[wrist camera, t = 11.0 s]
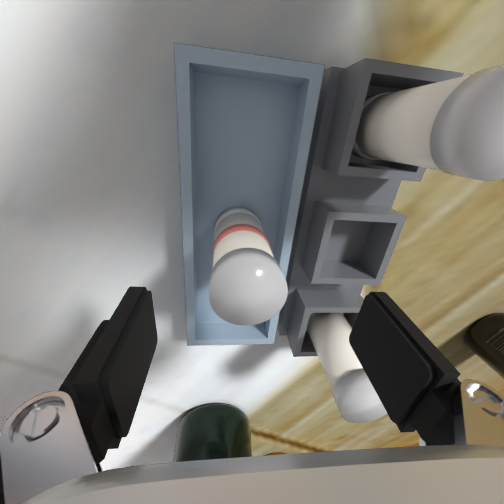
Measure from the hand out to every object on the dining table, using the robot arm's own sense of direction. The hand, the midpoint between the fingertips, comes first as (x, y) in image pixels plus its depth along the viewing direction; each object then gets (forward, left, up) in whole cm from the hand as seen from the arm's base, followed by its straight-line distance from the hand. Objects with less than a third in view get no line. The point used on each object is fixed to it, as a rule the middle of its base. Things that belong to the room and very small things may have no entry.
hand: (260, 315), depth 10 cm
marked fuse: (+1, 0, -12) cm, 12 cm away
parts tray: (+1, 0, -13) cm, 13 cm away
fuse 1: (+10, +9, -11) cm, 17 cm away
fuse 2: (-8, +9, -11) cm, 17 cm away
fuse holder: (+1, +9, -13) cm, 16 cm away
